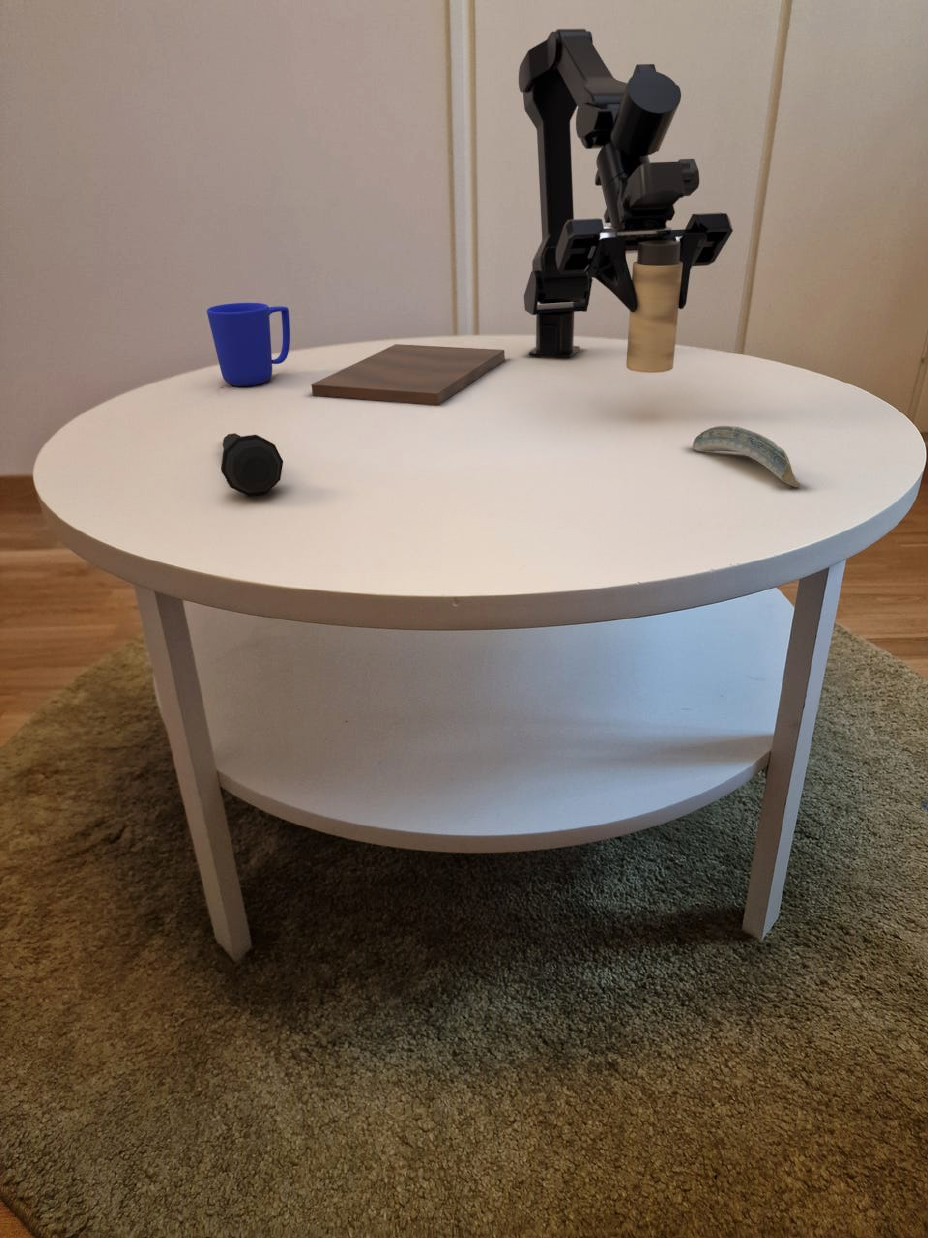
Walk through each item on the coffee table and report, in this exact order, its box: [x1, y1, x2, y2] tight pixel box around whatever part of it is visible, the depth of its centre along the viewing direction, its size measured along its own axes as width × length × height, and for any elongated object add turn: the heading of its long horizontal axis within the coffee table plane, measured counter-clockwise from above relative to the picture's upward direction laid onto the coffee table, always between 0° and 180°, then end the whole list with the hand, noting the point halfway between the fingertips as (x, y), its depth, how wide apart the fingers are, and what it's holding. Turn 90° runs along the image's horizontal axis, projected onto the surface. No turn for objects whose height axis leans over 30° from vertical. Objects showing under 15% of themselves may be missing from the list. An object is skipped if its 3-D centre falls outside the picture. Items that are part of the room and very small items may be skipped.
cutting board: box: [311, 343, 506, 406], centre depth 120 cm, size 26×18×2 cm
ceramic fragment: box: [692, 425, 802, 488], centre depth 83 cm, size 14×5×4 cm, turn 22°
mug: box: [206, 302, 291, 387], centre depth 119 cm, size 8×12×10 cm
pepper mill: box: [625, 240, 683, 374], centre depth 93 cm, size 5×5×13 cm
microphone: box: [220, 432, 284, 497], centre depth 86 cm, size 6×6×20 cm
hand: (658, 308), depth 92 cm, fingers closed on pepper mill, 5 cm apart
